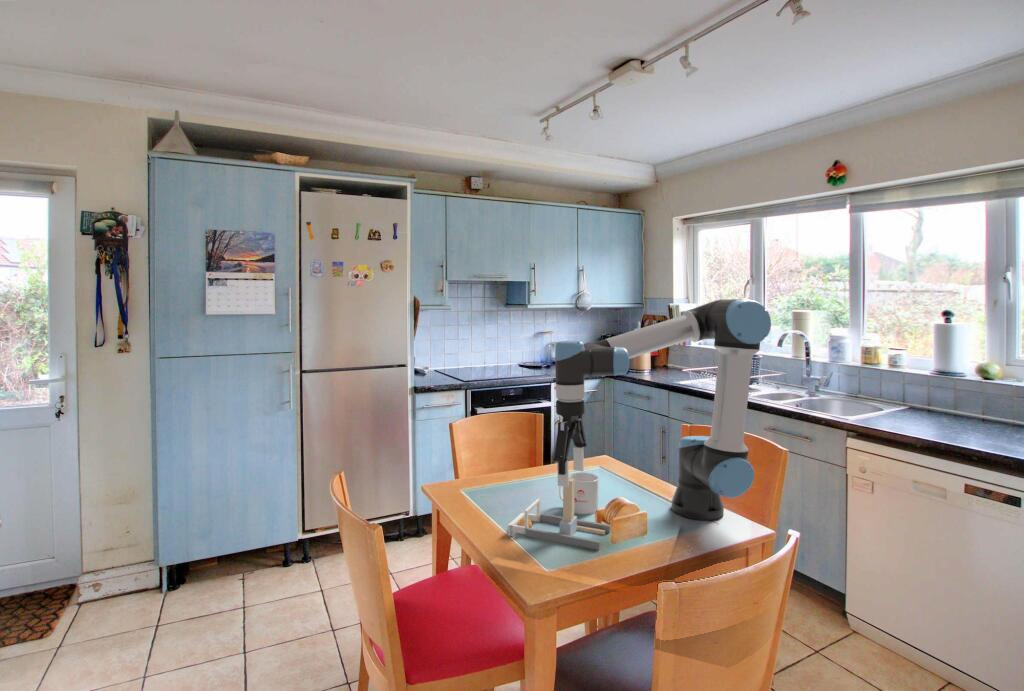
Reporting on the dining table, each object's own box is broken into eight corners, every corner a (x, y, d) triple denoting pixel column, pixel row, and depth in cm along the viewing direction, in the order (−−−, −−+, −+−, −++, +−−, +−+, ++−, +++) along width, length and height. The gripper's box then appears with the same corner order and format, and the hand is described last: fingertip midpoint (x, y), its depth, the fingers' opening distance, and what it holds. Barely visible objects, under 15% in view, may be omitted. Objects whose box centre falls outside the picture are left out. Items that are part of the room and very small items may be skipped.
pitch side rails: (610, 536, 148) (610, 524, 148) (599, 554, 138) (599, 542, 137) (541, 524, 156) (541, 513, 156) (525, 540, 146) (525, 529, 145)
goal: (540, 525, 156) (540, 498, 155) (527, 539, 146) (527, 510, 146) (522, 522, 158) (522, 495, 157) (508, 535, 149) (508, 507, 148)
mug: (599, 509, 168) (600, 473, 167) (596, 520, 160) (596, 483, 159) (561, 505, 171) (561, 470, 171) (556, 515, 163) (556, 479, 162)
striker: (576, 530, 149) (577, 476, 148) (570, 539, 144) (571, 483, 142) (566, 528, 150) (567, 475, 149) (559, 537, 145) (560, 482, 144)
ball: (531, 530, 153) (535, 518, 153) (526, 535, 150) (530, 523, 149) (520, 524, 155) (523, 513, 154) (515, 529, 151) (518, 518, 151)
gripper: (570, 391, 157) (571, 463, 159) (540, 407, 134) (541, 491, 136) (596, 392, 154) (597, 465, 156) (569, 409, 131) (570, 495, 133)
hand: (571, 477), depth 146 cm, fingers open, 13 cm apart
